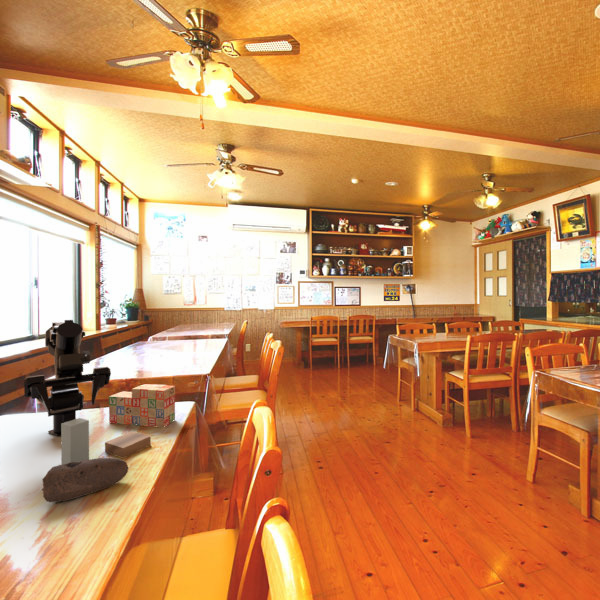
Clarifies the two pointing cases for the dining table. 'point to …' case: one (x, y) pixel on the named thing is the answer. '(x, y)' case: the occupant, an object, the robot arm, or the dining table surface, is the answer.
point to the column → (74, 441)
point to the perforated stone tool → (82, 478)
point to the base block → (127, 444)
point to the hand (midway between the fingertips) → (72, 408)
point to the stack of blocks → (143, 406)
